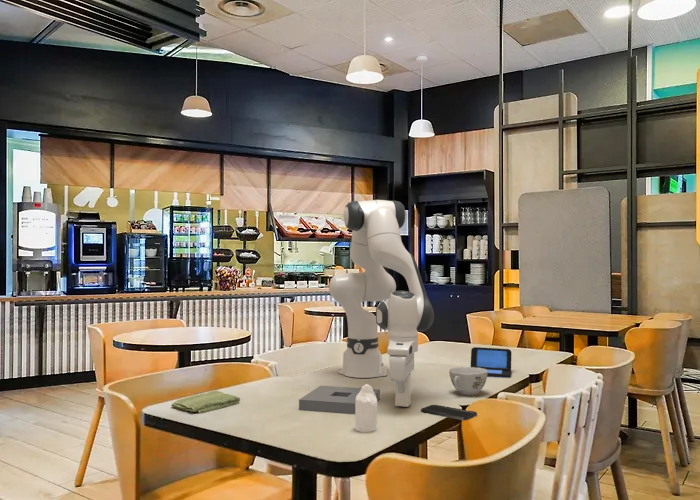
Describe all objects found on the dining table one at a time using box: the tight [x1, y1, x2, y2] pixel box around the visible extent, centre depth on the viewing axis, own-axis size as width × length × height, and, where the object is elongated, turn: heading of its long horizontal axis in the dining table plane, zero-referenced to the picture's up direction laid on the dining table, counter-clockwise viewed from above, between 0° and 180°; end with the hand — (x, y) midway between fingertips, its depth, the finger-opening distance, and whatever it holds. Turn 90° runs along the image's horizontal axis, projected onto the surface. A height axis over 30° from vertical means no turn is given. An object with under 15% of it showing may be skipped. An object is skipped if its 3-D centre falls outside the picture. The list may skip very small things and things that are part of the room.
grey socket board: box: [298, 385, 381, 415], centre depth 185 cm, size 20×20×3 cm
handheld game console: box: [470, 346, 512, 379], centre depth 234 cm, size 16×13×9 cm
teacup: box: [448, 366, 488, 396], centre depth 199 cm, size 15×12×8 cm
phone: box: [420, 404, 478, 421], centre depth 175 cm, size 8×1×15 cm
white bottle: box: [354, 383, 378, 433], centre depth 159 cm, size 6×12×6 cm
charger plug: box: [394, 373, 412, 408], centre depth 182 cm, size 4×4×10 cm
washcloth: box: [171, 389, 241, 415], centre depth 183 cm, size 13×18×3 cm
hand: (403, 390), depth 182 cm, fingers closed on charger plug, 4 cm apart
